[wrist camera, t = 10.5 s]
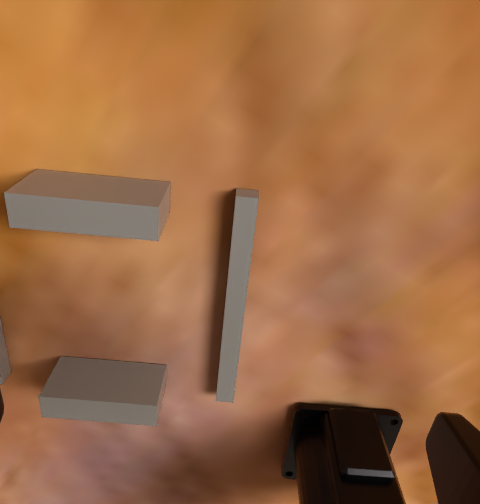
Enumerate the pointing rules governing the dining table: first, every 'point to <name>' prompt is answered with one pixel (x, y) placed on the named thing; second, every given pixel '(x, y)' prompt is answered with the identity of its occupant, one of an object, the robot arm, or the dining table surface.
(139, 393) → the blocks
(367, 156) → the dining table surface
